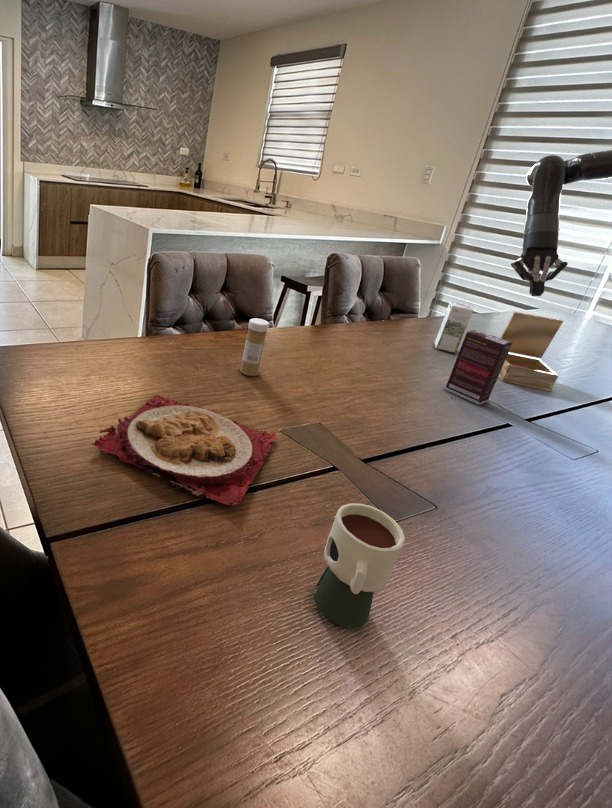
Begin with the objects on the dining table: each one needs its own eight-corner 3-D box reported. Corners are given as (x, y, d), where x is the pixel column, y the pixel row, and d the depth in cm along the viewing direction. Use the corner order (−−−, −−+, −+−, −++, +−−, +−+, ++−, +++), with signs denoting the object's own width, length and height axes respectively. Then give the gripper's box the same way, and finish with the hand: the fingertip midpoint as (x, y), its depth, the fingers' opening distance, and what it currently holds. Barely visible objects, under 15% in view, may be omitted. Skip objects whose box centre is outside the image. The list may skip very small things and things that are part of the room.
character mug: (315, 562, 62) (341, 484, 57) (372, 587, 60) (404, 507, 55) (301, 631, 53) (330, 545, 48) (367, 663, 50) (406, 575, 45)
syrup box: (453, 348, 148) (470, 304, 143) (456, 354, 143) (473, 309, 138) (433, 343, 150) (449, 300, 145) (435, 349, 145) (452, 304, 140)
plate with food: (235, 516, 69) (240, 498, 67) (90, 450, 78) (92, 432, 77) (275, 441, 89) (279, 426, 87) (156, 395, 98) (158, 381, 97)
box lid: (563, 321, 127) (562, 320, 127) (515, 312, 129) (514, 311, 130) (541, 358, 133) (540, 356, 134) (495, 349, 136) (494, 347, 136)
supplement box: (488, 401, 115) (514, 342, 108) (479, 406, 112) (506, 345, 106) (452, 386, 121) (475, 328, 115) (443, 389, 118) (466, 331, 112)
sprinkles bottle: (260, 372, 115) (272, 321, 110) (254, 378, 111) (265, 326, 106) (243, 366, 117) (253, 316, 112) (236, 372, 113) (246, 320, 108)
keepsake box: (550, 391, 125) (558, 375, 123) (502, 381, 128) (509, 365, 126) (533, 374, 135) (540, 359, 134) (488, 364, 138) (494, 350, 136)
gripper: (561, 236, 131) (556, 298, 131) (507, 235, 134) (502, 296, 134) (578, 229, 124) (572, 295, 124) (520, 229, 127) (515, 293, 127)
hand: (536, 296), depth 129 cm, fingers closed
